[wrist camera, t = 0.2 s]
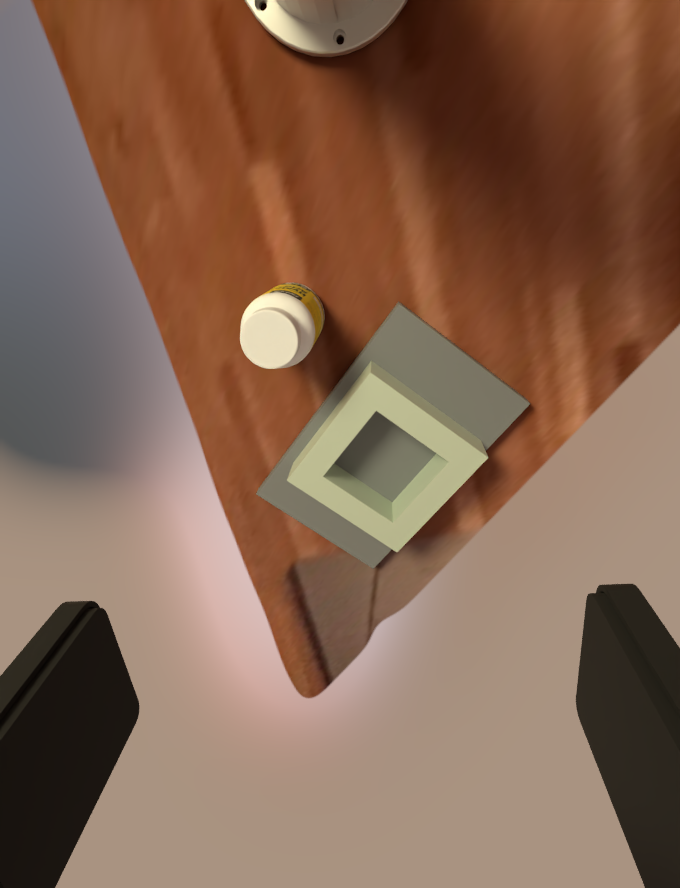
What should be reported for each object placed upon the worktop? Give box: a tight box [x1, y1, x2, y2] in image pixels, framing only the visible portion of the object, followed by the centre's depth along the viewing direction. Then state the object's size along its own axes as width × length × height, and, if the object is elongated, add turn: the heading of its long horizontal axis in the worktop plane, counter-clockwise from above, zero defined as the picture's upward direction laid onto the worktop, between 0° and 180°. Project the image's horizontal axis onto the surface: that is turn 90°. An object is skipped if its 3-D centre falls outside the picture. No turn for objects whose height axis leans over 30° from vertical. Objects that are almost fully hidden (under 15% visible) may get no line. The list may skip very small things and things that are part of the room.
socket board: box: [256, 302, 530, 569], centre depth 45 cm, size 22×14×5 cm, turn 144°
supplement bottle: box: [240, 283, 325, 369], centre depth 39 cm, size 5×5×10 cm
